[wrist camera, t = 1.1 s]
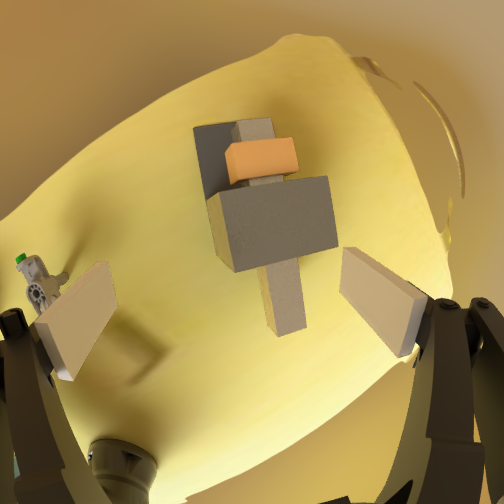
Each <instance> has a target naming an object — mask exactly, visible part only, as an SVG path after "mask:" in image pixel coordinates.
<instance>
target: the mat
mask: <svg viewBox="0 0 504 504" xmlns="http://www.w3.org/2000/svg"><path fill="white" fill-rule="evenodd" d="M235 124H236V122H233V123H224V124H217V125H209V126H202V127H196V128H193V131H194V137H195V143H196V149H197V155H198V161H199V166H200V172H201V177H202V183H203V188H204V193H205V199H206V200H208V199H209V198H211V197H212V196H214V195H215V194H217V193H218V192H222V191H227V190H233V189H238V188H242V187H241V183H238V184H233V185H231V184H230V179H229V173H228V168H227V163H226V157H225V152H226V150H227V149H228V148H229V146H230V145H231V144H232V143H233V140H232V134H231V130H232V128H233V127H234V125H235ZM206 204H207V202H206Z"/></svg>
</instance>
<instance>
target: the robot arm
mask: <svg viewBox="0 0 504 504" xmlns="http://www.w3.org/2000/svg"><path fill="white" fill-rule="evenodd" d="M339 292H340V293H341V294H342V295H343V296H344V298H345V299H346V300H347V301H348V302H349V303H350V304H351V305H352V306H353V308H354V309H355V310H356V311H357V312H358V313H359V314H360V315H361V317H362V318H363V319H364V320H365V321H366V322H367V323H368V324H369V326H370V327H371V328H372V329H373V330H374V331H375V332H376V334H377V335H378V336H379V337H380V338H381V339H382V341H383V342H384V343H385V344H386V345H387V346H388V348H389V349H390V350H391V351H392V352H393V353H394V355H395V356H396V357H397V358H400V357H403V356H407V355H410V354H411V353H412V350H413V347H414V344H415V342H416V343H417V344H418V345H419V346H420V349H419V352H418V355H417V357H416V360H415V362H414V365H413V368H415V367H416V370H415V376H414V382H413V388H412V393H411V399H410V404H409V408H408V413H407V417H406V421H405V426H404V429H403V433H402V436H401V440H400V444H399V447H398V451H397V454H396V457H395V460H394V463H393V466H392V469H391V471H390V474H389V477H388V479H387V482H386V485H385V486H384V488H383V490H382V491H381V493H380V494H379V496H378V497H377V499H376V501H375V503H350V500H349V498H348V496H345V497H341V498H338V499H335V500H331V501H328V502H324V503H320V504H479V501H480V494H481V488H482V482H483V473H484V463H485V469H486V477H487V484H488V490H489V495H490V499H491V504H504V317H503V316H502V314H501V313H500V312H499V311H498V309H497V308H496V307H495V306H494V304H493V303H491V302H490V301H488V300H487V299H486V298H483V297H481V298H473V299H472V300H471V303H470V307H469V308H468V309H461V307H460V305H459V304H458V303H456V302H455V301H453V300H450V299H445V298H439V299H436V300H434V299H433V298H431V297H430V296H429V295H427V294H426V293H424V292H423V291H421V290H420V289H419V288H417V287H415V285H413V284H412V283H410V282H409V281H406V280H404V279H403V278H401V277H400V276H398V275H397V274H395V273H394V272H393V271H391V270H390V269H388V268H387V267H385V266H384V265H382V264H381V263H379V262H378V261H376V260H375V259H373V258H372V257H370V256H368V255H367V254H365V253H364V252H362V251H361V250H359V249H358V248H356V247H344V248H343V258H342V270H341V280H340V289H339ZM117 307H118V303H117V299H116V294H115V290H114V286H113V281H112V276H111V271H110V266H109V261H108V262H97V263H96V264H94V265H93V266H92V267H91V268H90V269H89V270H88V271H86V272H85V273H84V274H83V275H82V276H81V277H80V278H79V279H78V280H76V281H75V282H74V283H73V284H72V285H71V286H70V287H69V288H68V289H67V290H66V291H65V292H64V293H63V294H61V295H60V296H59V297H58V298H57V299H56V300H55V301H54V302H53V303H52V304H51V305H50V306H49V307H48V308H47V309H46V310H45V311H44V312H43V313H42V314H41V315H40V316H39V317H38V318H37V319H36V320H35V321H34V322H33V323H32V324H31V325H30V326H29V327H28V324H27V322H26V319H25V316H24V314H23V311H22V309H20V308H12V309H9V310H7V311H5V312H3V313H2V314H0V330H1V332H2V334H3V336H4V340H2V341H0V504H149V490H150V488H151V486H152V484H153V481H154V479H155V477H156V462H155V460H154V459H153V457H152V456H151V455H150V454H148V453H147V452H146V451H144V450H143V449H141V448H139V447H137V446H135V445H133V444H130V443H127V442H124V441H120V440H113V439H103V440H98V441H95V442H94V443H92V444H91V445H90V447H89V451H88V463H89V465H88V463H87V461H86V459H85V457H84V455H83V453H82V451H81V449H80V447H79V445H78V443H77V441H76V438H75V436H74V434H73V432H72V429H71V427H70V425H69V422H68V420H67V417H66V415H65V412H64V409H63V407H62V404H61V401H60V398H59V395H58V392H57V389H56V386H55V383H54V380H53V378H52V376H51V375H50V373H51V372H52V370H53V368H54V369H55V371H56V373H57V375H58V377H59V379H62V380H67V381H74V379H75V378H76V376H77V374H78V372H79V370H80V368H81V367H82V365H83V363H84V361H85V360H86V358H87V356H88V354H89V353H90V351H91V349H92V347H93V346H94V344H95V342H96V341H97V339H98V337H99V336H100V334H101V332H102V331H103V329H104V328H105V326H106V324H107V323H108V321H109V320H110V318H111V316H112V315H113V313H114V312H115V310H116V309H117ZM482 342H483V346H482V349H481V348H480V346H481V344H482ZM474 415H475V418H476V423H477V427H478V431H479V435H480V440H481V443H477V442H474V439H473V435H474ZM14 452H15V456H14Z"/></svg>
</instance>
